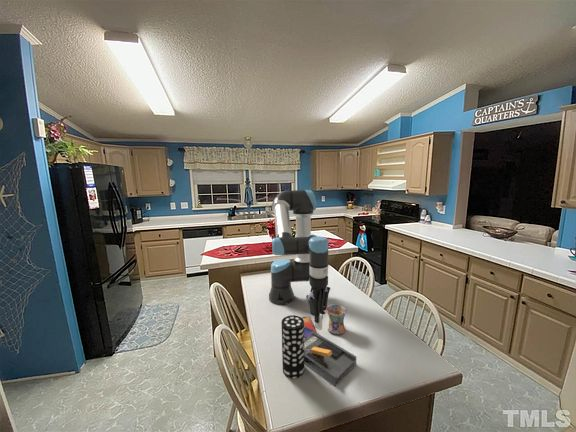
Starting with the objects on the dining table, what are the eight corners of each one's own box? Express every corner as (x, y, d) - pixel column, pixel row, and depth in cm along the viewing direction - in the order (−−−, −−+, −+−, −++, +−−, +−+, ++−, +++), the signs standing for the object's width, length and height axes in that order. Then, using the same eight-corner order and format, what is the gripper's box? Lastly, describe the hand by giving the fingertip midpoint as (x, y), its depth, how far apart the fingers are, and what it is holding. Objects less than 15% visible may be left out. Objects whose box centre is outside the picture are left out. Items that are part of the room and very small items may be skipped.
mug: (348, 335, 111) (349, 314, 109) (328, 336, 110) (328, 315, 108) (341, 320, 122) (341, 301, 121) (323, 321, 122) (323, 301, 120)
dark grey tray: (291, 353, 100) (291, 345, 99) (313, 337, 110) (313, 329, 109) (335, 386, 84) (335, 376, 84) (356, 364, 94) (356, 355, 93)
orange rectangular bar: (311, 352, 97) (310, 349, 97) (315, 350, 98) (314, 346, 98) (328, 357, 90) (327, 353, 90) (332, 354, 92) (331, 350, 92)
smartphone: (302, 339, 109) (302, 337, 109) (295, 319, 124) (295, 317, 124) (318, 337, 111) (318, 335, 110) (309, 318, 125) (309, 316, 125)
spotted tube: (281, 362, 96) (280, 316, 92) (302, 360, 96) (302, 314, 93) (283, 379, 88) (282, 329, 84) (305, 377, 88) (305, 328, 85)
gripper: (315, 283, 90) (315, 339, 94) (335, 273, 99) (335, 325, 103) (300, 277, 96) (301, 331, 99) (321, 268, 104) (321, 318, 108)
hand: (318, 328), depth 101 cm, fingers closed
